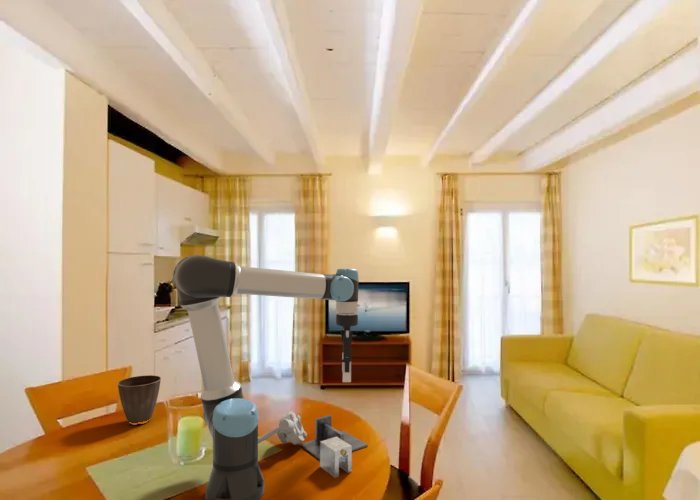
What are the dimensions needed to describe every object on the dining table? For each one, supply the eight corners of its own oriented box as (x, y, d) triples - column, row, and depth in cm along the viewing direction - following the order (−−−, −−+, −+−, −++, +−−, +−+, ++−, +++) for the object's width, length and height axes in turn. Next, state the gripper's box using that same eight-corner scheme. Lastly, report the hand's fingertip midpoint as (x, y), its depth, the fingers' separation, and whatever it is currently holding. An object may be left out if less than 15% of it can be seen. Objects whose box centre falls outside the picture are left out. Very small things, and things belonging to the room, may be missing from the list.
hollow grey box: (335, 478, 118) (335, 452, 118) (320, 466, 125) (320, 441, 125) (352, 472, 122) (352, 446, 122) (336, 460, 129) (336, 436, 129)
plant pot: (107, 427, 155) (108, 384, 156) (138, 413, 169) (139, 373, 170) (139, 431, 151) (140, 387, 151) (169, 417, 165) (169, 376, 165)
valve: (310, 439, 142) (294, 437, 129) (265, 466, 142) (244, 466, 129) (299, 411, 147) (282, 406, 134) (256, 436, 147) (235, 434, 134)
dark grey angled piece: (322, 461, 128) (322, 437, 128) (299, 445, 139) (300, 422, 139) (367, 446, 139) (367, 423, 139) (343, 432, 150) (343, 411, 150)
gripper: (359, 318, 129) (359, 387, 129) (356, 309, 154) (355, 367, 154) (335, 318, 129) (335, 387, 128) (336, 309, 154) (335, 366, 153)
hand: (346, 376), depth 141 cm, fingers open, 13 cm apart
